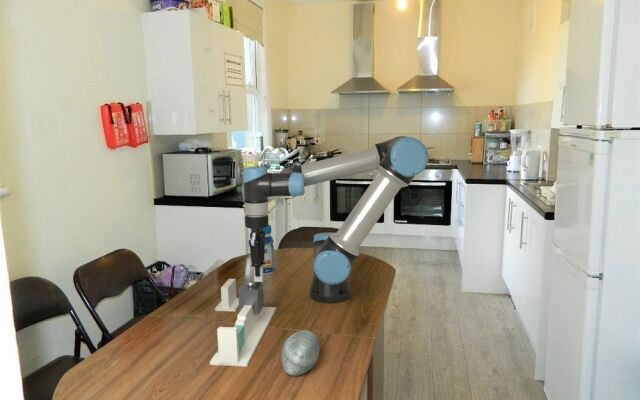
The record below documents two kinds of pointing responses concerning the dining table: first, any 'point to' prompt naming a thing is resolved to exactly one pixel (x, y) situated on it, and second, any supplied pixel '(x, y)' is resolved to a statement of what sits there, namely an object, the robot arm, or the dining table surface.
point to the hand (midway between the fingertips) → (259, 284)
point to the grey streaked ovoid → (300, 352)
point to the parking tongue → (228, 297)
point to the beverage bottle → (268, 252)
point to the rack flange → (242, 337)
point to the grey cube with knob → (251, 295)
